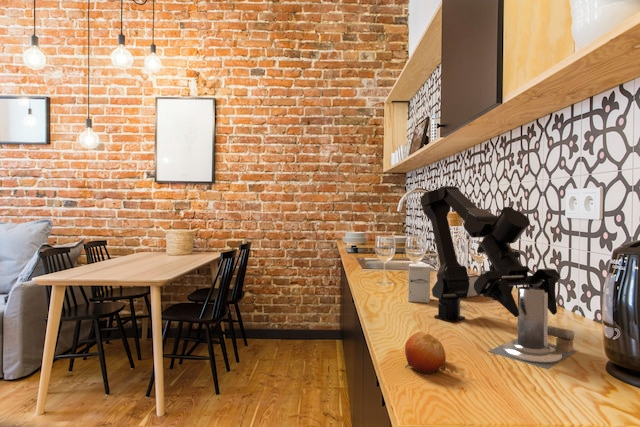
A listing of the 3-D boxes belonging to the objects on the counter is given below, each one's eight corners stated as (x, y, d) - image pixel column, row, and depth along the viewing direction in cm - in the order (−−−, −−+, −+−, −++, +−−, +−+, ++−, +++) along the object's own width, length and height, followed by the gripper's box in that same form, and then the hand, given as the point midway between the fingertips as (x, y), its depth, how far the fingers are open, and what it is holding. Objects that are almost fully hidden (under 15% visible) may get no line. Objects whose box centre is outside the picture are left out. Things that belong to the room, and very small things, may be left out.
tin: (478, 294, 147) (478, 272, 147) (485, 296, 144) (485, 273, 144) (449, 298, 140) (449, 275, 140) (456, 300, 137) (456, 276, 137)
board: (521, 341, 94) (521, 336, 94) (578, 355, 84) (578, 350, 84) (487, 356, 84) (487, 351, 84) (547, 375, 74) (547, 369, 74)
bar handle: (517, 339, 91) (517, 320, 91) (522, 337, 93) (522, 318, 93) (570, 353, 83) (570, 332, 83) (574, 350, 84) (574, 330, 84)
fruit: (407, 349, 84) (425, 321, 82) (437, 376, 80) (457, 348, 77) (388, 360, 78) (407, 331, 75) (420, 390, 74) (441, 360, 71)
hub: (513, 342, 87) (514, 284, 87) (549, 347, 84) (550, 287, 84) (511, 351, 81) (511, 290, 81) (549, 358, 78) (550, 293, 78)
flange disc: (517, 341, 90) (517, 338, 90) (570, 355, 81) (570, 351, 81) (493, 352, 83) (493, 348, 83) (548, 368, 75) (548, 364, 75)
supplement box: (407, 302, 135) (407, 265, 134) (409, 297, 142) (409, 262, 142) (429, 303, 132) (429, 266, 132) (430, 298, 139) (430, 263, 139)
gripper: (518, 274, 99) (552, 330, 89) (452, 277, 95) (480, 336, 85) (542, 247, 92) (582, 304, 81) (471, 248, 88) (505, 309, 77)
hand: (536, 314), depth 81 cm, fingers open, 9 cm apart
